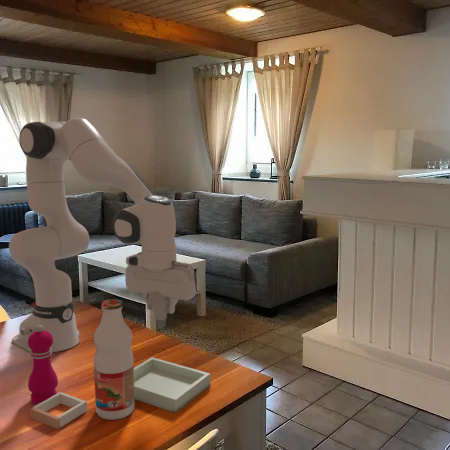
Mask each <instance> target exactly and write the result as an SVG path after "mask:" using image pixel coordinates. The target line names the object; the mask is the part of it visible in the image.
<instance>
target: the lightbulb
mask: <svg viewBox="0 0 450 450" xmlns="http://www.w3.org/2000/svg"><path fill="white" fill-rule="evenodd" d="M148 300H149V304H150V306H151V308H152V309H153V310H152V312H153V315H154V320H155V326H156V327H157V328H159V329H163V328H164V327H166V325H167V324H166V323H167V320H166V319H167V318H168V313H167V312H166V311H167V309H166V307H168V306H170V303H171V301H169V297H165V296H163V295H162V294H160V293H159V292H157V291H153V292H151V293H150V294H149V298H148Z"/></svg>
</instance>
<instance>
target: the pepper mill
mask: <svg viewBox="0 0 450 450" xmlns="http://www.w3.org/2000/svg"><path fill="white" fill-rule="evenodd" d="M43 329H44V328H43V326H42V325H39V326H37V327H36V331H35V332H33V333H32V334H31V335H30V336H29V338H28V346H29V348H30V349H31V353H30V358H32V360H33V362H32V370H31V373H30V375H29V376H28V377H29V378H28V382H27V389H28V390H29V392H30V393H31V394H30V402H31V404H33V405H34V406H36V405H37V404H39V403H41V402H43V401H45V400H47V399H48V398H50V397H52V396H54V395H56V394H57V389H56V388H57V387H58V385H59V379H58V375H57V373H56V371H55V370H54V368H53V366H52V363H51V356H52V354H53V352H51V350H52V349H51V346H52V344H53V337H52V335H51V333H50V332H48V331H45V330H43Z"/></svg>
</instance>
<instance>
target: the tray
mask: <svg viewBox="0 0 450 450" xmlns="http://www.w3.org/2000/svg"><path fill="white" fill-rule="evenodd" d="M210 386H211V373H209V372H207V371H202V370H199V369H195V368H192V367H187V366H186V365H181V364H177V363H174V362H170V361H167V360H164V359H163V360H162V359H160V358H157V357H154V356H152V357H149V358H147V360H145V361H143V362H142V363H140V364H138V365H136V366H134V400H135V401H136V400H137V401H140V402H143V403H145V404H148V405H151V406H154V407H156V408H160V409H163V410H166V411H169V412H172V413H175V414H177V413H178V412H179V411H180V410H182V409H183V408H184V407H186V406H187V405H188V404H190V403H191V401H194V400H195V398H197V397H198V396H199V395H200V394H202V393H203V392H204V391H205V390H207V389H208V388H209V387H210Z"/></svg>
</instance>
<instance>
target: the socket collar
mask: <svg viewBox="0 0 450 450" xmlns="http://www.w3.org/2000/svg"><path fill="white" fill-rule="evenodd" d="M61 404H62V405H64V406H67V407H70V408H69V409H68V410H66V411H65V412H63V413H61V414H60V415H58V416H57V415H53V414H51V413H49V412H48V411H50V410H51V409H53V408H55V407H57V406H58V405H61ZM29 411H30V412H29V413H30V418H31V419H32V420H35V421H36V422H40V423H41V424H44V425H46V426H49V427H52V428H54V429H55V430H59V429H61V428H62V427H63V426H66V425H67V424H69V423H70V422H72V421H73V420H75V419H76V418H78V417H80V416H81V415H83V414H85V413H86V412H87V411H88V403H87V400H84V399H81V398H78V397H75V396H73V395H70V394H67V393H65V392H62V391H60V392H58V393H57V394H56V395H54V396H52V397H50V398H48V399H47V400H45V401H43V402H41V403H39V404H37V405H33V406H32V407H30V409H29Z"/></svg>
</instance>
